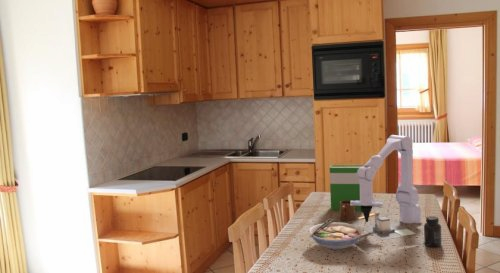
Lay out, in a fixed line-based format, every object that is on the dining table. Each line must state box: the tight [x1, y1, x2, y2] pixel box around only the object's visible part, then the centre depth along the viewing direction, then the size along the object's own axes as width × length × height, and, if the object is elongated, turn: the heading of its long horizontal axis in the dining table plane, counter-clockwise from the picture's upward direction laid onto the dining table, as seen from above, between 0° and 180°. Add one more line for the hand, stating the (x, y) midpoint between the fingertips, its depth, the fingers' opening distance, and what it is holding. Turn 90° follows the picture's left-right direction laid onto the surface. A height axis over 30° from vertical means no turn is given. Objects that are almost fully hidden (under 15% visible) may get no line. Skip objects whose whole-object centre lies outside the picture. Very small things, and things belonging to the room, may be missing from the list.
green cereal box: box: [329, 164, 364, 212], centre depth 249 cm, size 18×7×24 cm, turn 74°
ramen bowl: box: [308, 218, 364, 251], centre depth 194 cm, size 25×23×8 cm
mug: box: [339, 201, 356, 223], centre depth 228 cm, size 12×8×9 cm, turn 149°
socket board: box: [362, 214, 417, 241], centre depth 209 cm, size 18×18×7 cm
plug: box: [377, 216, 391, 231], centre depth 209 cm, size 4×4×6 cm
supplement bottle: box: [423, 215, 443, 248], centre depth 190 cm, size 7×7×12 cm
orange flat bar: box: [357, 211, 380, 221], centre depth 211 cm, size 3×13×1 cm, turn 124°
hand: (366, 221), depth 208 cm, fingers closed
